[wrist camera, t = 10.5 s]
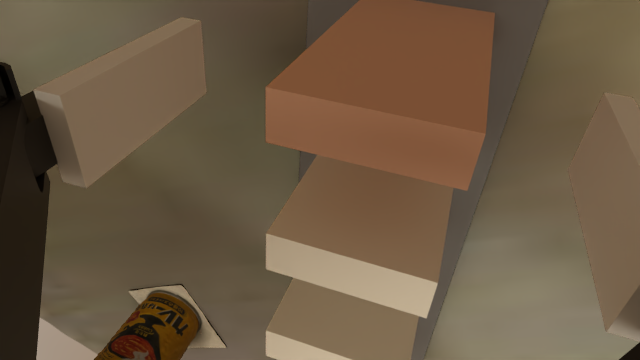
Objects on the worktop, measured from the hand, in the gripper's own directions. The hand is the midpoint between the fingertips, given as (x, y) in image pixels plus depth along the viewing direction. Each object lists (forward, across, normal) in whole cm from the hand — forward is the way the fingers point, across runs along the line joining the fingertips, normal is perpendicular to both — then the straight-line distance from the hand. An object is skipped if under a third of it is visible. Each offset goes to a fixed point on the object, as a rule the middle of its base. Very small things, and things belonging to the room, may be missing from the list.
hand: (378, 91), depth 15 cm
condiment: (+10, +18, +32) cm, 38 cm away
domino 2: (+9, 0, +6) cm, 10 cm away
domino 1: (+9, 0, 0) cm, 9 cm away
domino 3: (+9, 0, +11) cm, 14 cm away
